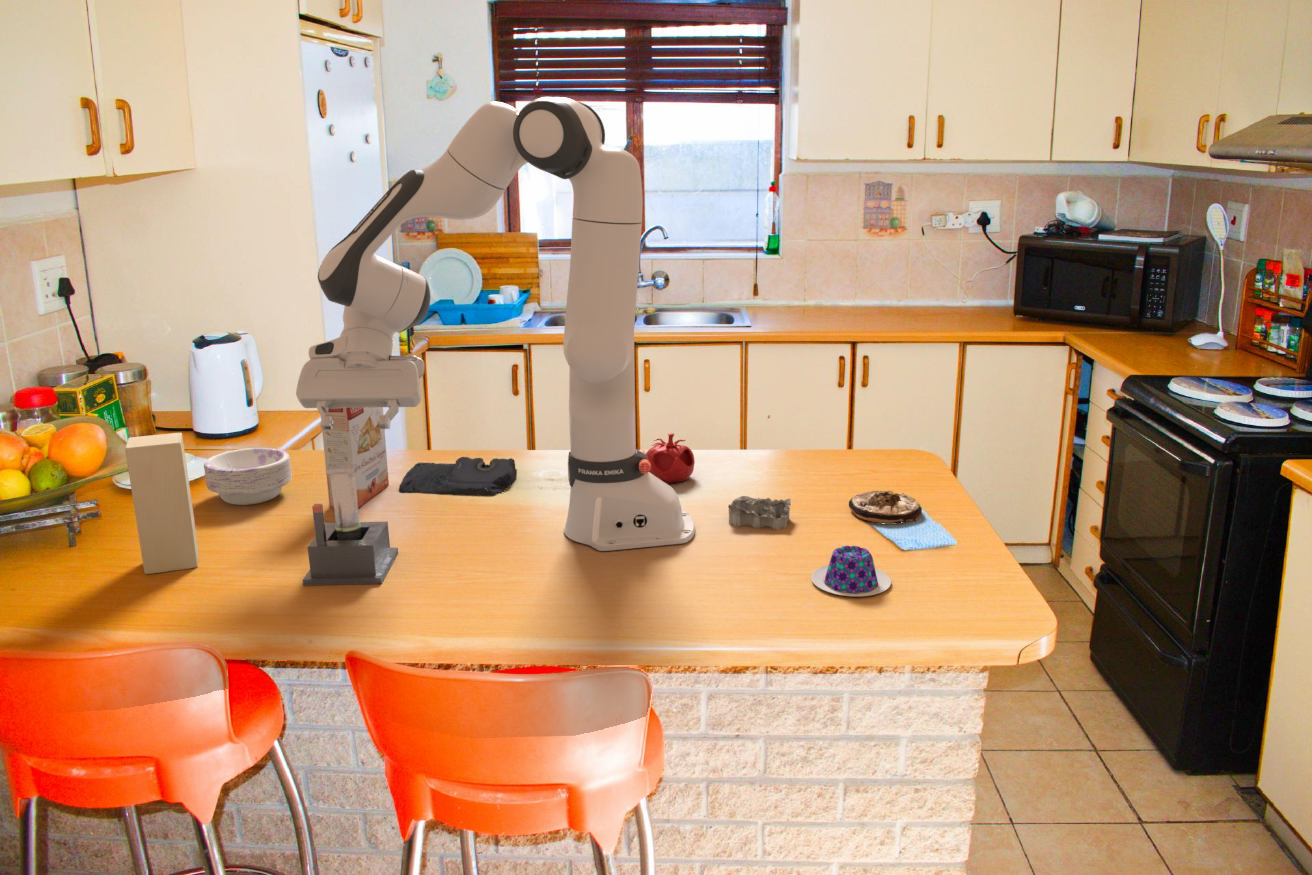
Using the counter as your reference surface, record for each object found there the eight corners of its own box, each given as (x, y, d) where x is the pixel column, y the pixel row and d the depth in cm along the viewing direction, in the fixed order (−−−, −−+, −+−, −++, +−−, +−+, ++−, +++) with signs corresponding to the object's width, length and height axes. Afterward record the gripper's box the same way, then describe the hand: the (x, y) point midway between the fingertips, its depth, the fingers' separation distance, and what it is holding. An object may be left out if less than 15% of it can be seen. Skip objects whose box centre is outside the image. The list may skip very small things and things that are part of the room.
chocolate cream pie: (862, 533, 179) (863, 510, 178) (830, 504, 193) (831, 482, 192) (942, 525, 182) (943, 503, 181) (905, 497, 196) (906, 476, 195)
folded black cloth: (419, 470, 215) (417, 448, 214) (523, 472, 213) (522, 450, 211) (392, 495, 201) (390, 472, 199) (504, 498, 198) (503, 475, 197)
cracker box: (358, 510, 192) (347, 400, 186) (328, 508, 193) (316, 399, 187) (391, 485, 205) (382, 381, 199) (363, 483, 206) (353, 380, 200)
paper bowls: (305, 483, 207) (300, 445, 204) (276, 511, 192) (271, 470, 190) (228, 484, 207) (223, 446, 205) (194, 511, 193) (188, 470, 190)
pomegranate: (638, 474, 210) (636, 430, 207) (685, 468, 213) (684, 424, 210) (653, 489, 201) (651, 442, 198) (702, 482, 204) (701, 436, 201)
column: (368, 556, 168) (359, 462, 164) (362, 565, 164) (352, 470, 160) (341, 556, 168) (330, 463, 164) (334, 566, 164) (323, 471, 160)
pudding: (795, 584, 159) (796, 553, 158) (840, 561, 168) (841, 530, 166) (862, 608, 151) (863, 575, 150) (906, 582, 160) (908, 550, 158)
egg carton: (724, 527, 182) (724, 505, 181) (734, 512, 189) (734, 490, 188) (785, 532, 179) (785, 510, 178) (792, 517, 186) (793, 495, 185)
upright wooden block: (200, 550, 175) (182, 430, 169) (199, 567, 168) (180, 442, 162) (148, 558, 172) (127, 436, 166) (144, 575, 165) (123, 448, 159)
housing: (398, 553, 173) (391, 481, 169) (381, 583, 161) (374, 507, 157) (325, 554, 172) (317, 483, 169) (303, 585, 161) (294, 509, 157)
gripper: (429, 365, 181) (422, 436, 175) (310, 367, 181) (299, 437, 174) (422, 345, 176) (415, 417, 169) (299, 347, 175) (287, 419, 169)
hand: (355, 427), depth 172 cm, fingers open, 8 cm apart
